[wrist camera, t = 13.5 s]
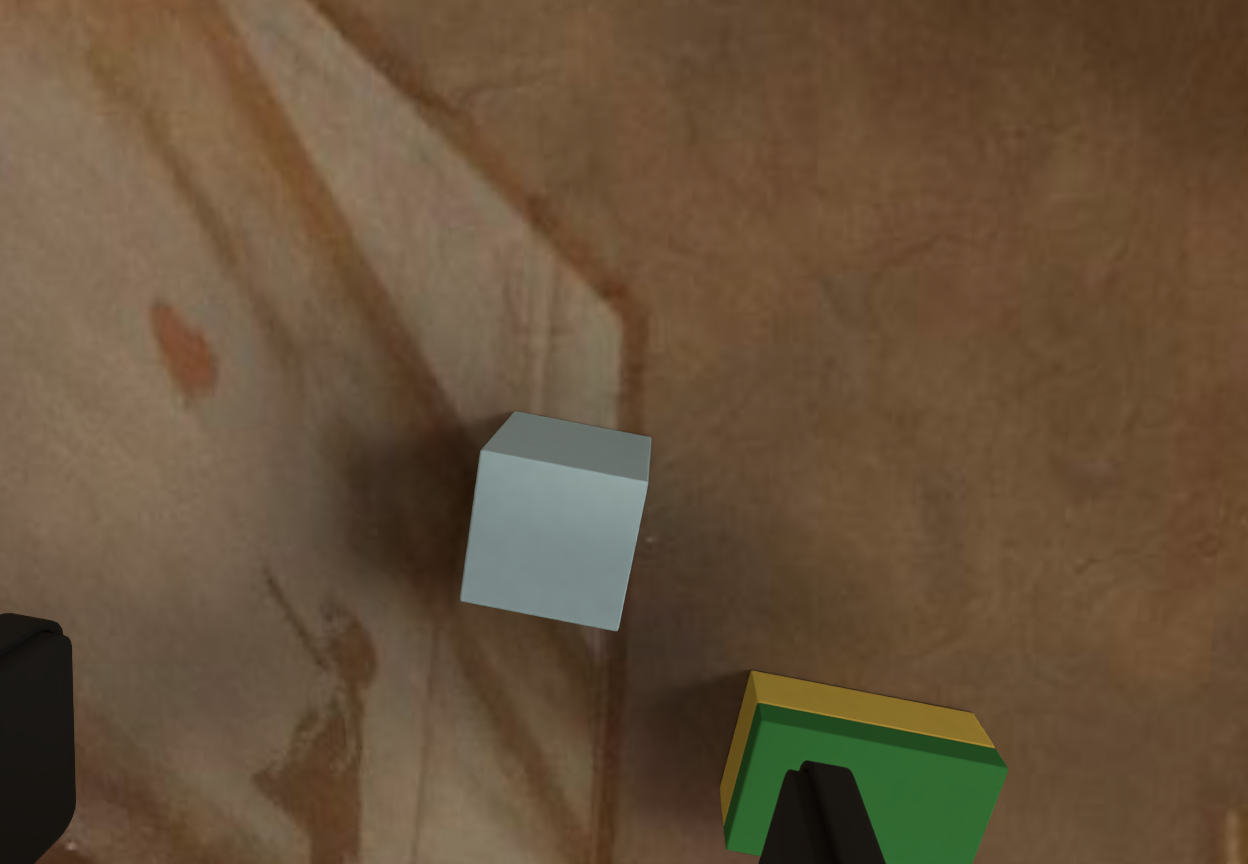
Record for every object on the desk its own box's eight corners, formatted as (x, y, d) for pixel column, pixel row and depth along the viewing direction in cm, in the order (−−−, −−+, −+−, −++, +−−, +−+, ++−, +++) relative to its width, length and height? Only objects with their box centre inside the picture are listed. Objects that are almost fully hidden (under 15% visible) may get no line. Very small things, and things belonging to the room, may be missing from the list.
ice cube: (495, 537, 22) (458, 602, 18) (514, 410, 21) (479, 449, 17) (626, 562, 22) (617, 633, 18) (651, 436, 21) (648, 482, 17)
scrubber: (718, 788, 24) (725, 851, 21) (750, 669, 23) (760, 721, 20) (930, 829, 24) (960, 896, 21) (973, 712, 23) (1010, 769, 20)
